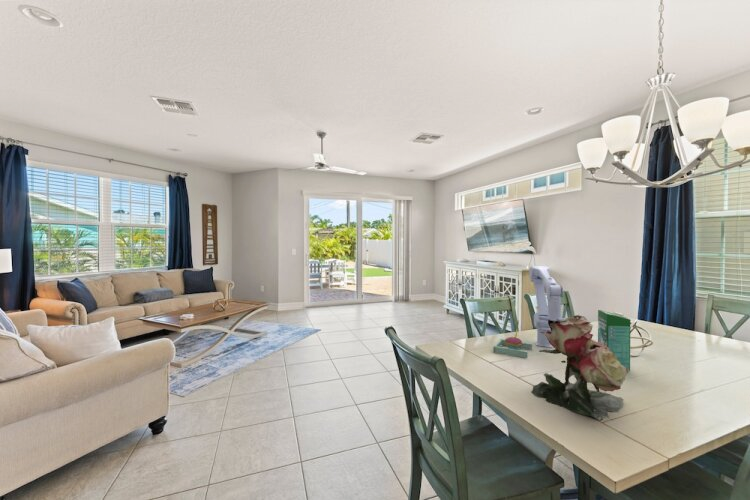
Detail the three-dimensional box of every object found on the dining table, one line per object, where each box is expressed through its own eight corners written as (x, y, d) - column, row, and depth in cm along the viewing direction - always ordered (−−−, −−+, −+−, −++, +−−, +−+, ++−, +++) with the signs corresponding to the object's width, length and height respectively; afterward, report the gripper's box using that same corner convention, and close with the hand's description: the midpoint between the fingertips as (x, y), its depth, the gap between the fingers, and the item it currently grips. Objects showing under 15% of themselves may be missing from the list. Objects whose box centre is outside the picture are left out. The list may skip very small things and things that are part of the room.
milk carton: (630, 371, 144) (630, 314, 143) (607, 369, 145) (607, 313, 145) (619, 363, 153) (619, 309, 152) (597, 362, 154) (597, 309, 154)
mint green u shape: (500, 344, 182) (500, 339, 182) (532, 349, 174) (532, 343, 174) (493, 352, 170) (493, 346, 170) (527, 358, 161) (527, 352, 161)
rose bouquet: (617, 429, 101) (617, 332, 100) (525, 394, 124) (525, 315, 123) (643, 403, 116) (644, 318, 115) (557, 376, 140) (557, 306, 139)
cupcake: (519, 348, 175) (519, 326, 175) (524, 353, 167) (524, 330, 167) (502, 348, 176) (502, 325, 176) (507, 353, 168) (507, 330, 168)
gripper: (537, 308, 166) (537, 335, 166) (570, 312, 158) (570, 340, 158) (539, 306, 172) (539, 332, 172) (571, 309, 163) (571, 336, 164)
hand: (554, 335), depth 165 cm, fingers closed
